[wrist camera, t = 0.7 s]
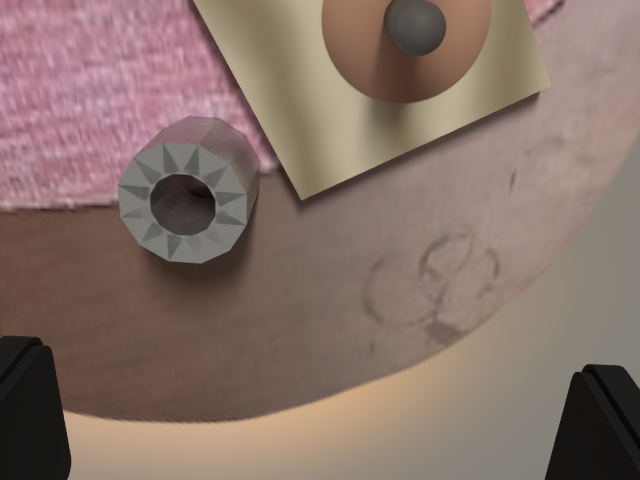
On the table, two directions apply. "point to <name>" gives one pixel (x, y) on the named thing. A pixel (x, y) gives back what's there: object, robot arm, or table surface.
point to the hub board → (371, 74)
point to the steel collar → (179, 204)
